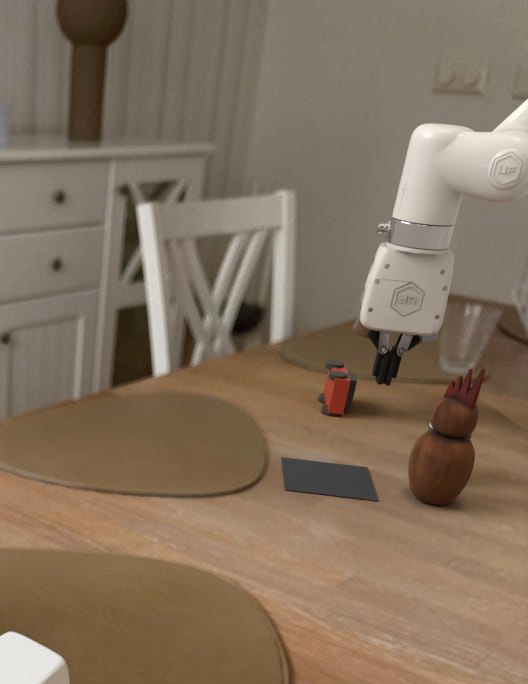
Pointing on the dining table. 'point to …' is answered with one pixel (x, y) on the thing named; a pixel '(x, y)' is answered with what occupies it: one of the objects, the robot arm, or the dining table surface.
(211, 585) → the dining table surface
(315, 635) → the dining table surface
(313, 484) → the mat
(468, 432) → the wooden figurine
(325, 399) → the toy car
